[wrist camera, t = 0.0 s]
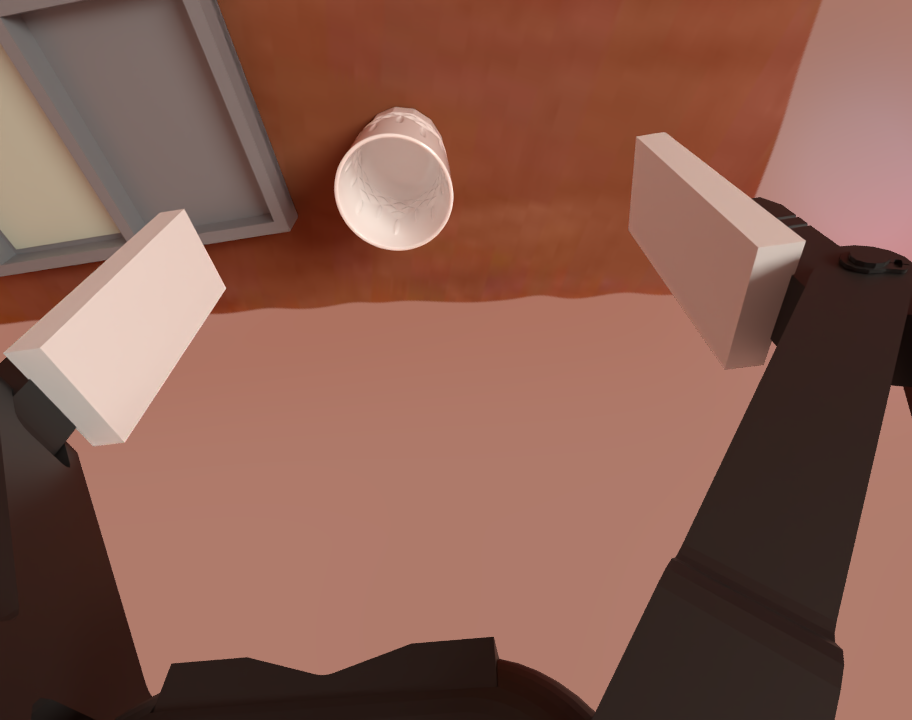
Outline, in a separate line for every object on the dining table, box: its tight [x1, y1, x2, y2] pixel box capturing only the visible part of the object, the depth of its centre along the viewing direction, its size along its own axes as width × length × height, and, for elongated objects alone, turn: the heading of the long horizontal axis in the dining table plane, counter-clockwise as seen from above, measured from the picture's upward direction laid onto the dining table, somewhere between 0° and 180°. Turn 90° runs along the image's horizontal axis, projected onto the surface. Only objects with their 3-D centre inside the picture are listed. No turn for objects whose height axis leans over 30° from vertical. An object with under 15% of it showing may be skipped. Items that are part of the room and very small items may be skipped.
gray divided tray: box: [0, 0, 298, 277], centre depth 37 cm, size 18×27×3 cm, turn 99°
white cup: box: [334, 107, 453, 251], centre depth 36 cm, size 8×8×10 cm
